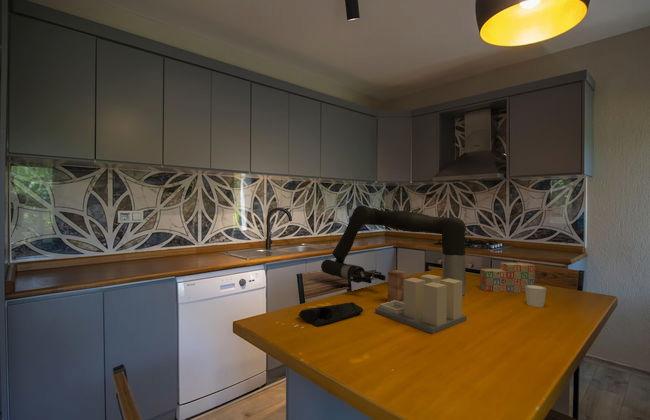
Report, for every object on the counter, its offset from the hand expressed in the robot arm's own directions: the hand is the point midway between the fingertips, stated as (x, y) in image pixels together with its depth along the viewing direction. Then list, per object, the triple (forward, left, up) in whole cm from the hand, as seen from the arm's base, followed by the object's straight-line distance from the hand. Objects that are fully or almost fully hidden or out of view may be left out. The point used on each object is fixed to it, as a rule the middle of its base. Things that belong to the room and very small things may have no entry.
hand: (378, 279), depth 138 cm
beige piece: (-40, +45, -7) cm, 61 cm away
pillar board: (+7, +26, -7) cm, 28 cm away
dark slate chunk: (+31, +7, -8) cm, 32 cm away
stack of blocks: (-54, +29, -7) cm, 61 cm away
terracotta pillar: (0, +10, -7) cm, 13 cm away
